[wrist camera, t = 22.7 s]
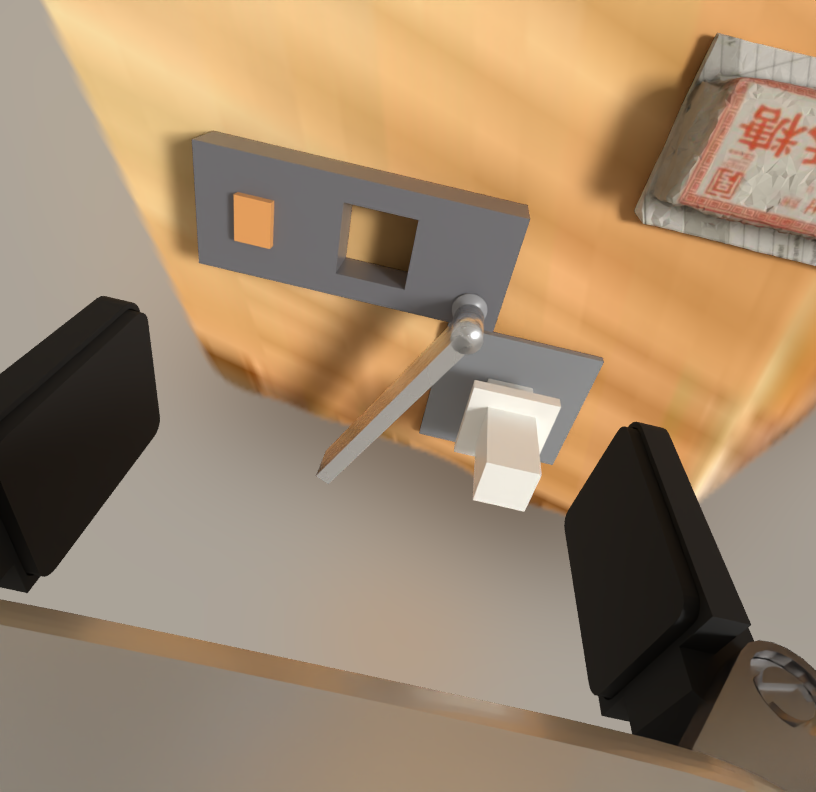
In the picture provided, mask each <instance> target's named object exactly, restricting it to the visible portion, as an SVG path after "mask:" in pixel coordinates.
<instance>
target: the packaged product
mask: <svg viewBox="0 0 816 792" xmlns="http://www.w3.org/2000/svg"><path fill="white" fill-rule="evenodd" d="M634 212H635V214H636V215H637V217H638V218H639V219H640V220H641V222H642V223H643V224H648V225H653V226H657V227H661V228H665V229H669V230H673V231H677V232H681V233H686V234H690V235H694V236H698V237H702V238H706V239H710V240H714V241H718V242H723V243H725V244H731V245H734V246H738V247H742V248H745V249H749V250H752V251H756V252H760V253H764V254H769V255H774V256H777V257H781V258H785V259H790V260H793V261H798V262H802V263H806V264H809V265H814V266H816V57H812V56H808V55H804V54H800V53H795V52H791V51H787V50H783V49H779V48H774V47H770V46H766V45H762V44H757V43H752V42H748V41H745V40H742V39H739V38H735V37H731V36H728V35H724V34H720V33H717V34H716V36H715V38H714V40H713V42H712V44H711V46H710V48H709V50H708V52H707V54H706V56H705V58H704V60H703V62H702V64H701V66H700V68H699V70H698V73H697V75H696V77H695V79H694V81H693V83H692V85H691V87H690V89H689V91H688V93H687V95H686V97H685V99H684V102H683V104H682V106H681V108H680V110H679V113H678V115H677V117H676V119H675V122H674V124H673V126H672V128H671V131H670V133H669V136H668V138H667V141H666V143H665V146H664V148H663V150H662V152H661V154H660V156H659V158H658V160H657V162H656V164H655V166H654V168H653V170H652V173H651V175H650V177H649V179H648V181H647V184H646V186H645V188H644V190H643V192H642V194H641V197H640V199H639V201H638V203H637V205H636V208H635V210H634Z"/></svg>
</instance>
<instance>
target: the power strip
mask: <svg viewBox="0 0 816 792" xmlns="http://www.w3.org/2000/svg"><path fill="white" fill-rule="evenodd" d="M192 149H193V167H194V184H195V201H196V219H197V236H198V253H199V263H201V264H206V265H210V266H214V267H218V268H222V269H227V270H231V271H235V272H239V273H244V274H248V275H252V276H256V277H260V278H265V279H269V280H273V281H277V282H282V283H286V284H290V285H294V286H298V287H303V288H307V289H311V290H315V291H320V292H324V293H328V294H332V295H336V296H341V297H345V298H349V299H353V300H358V301H362V302H366V303H370V304H374V305H379V306H383V307H387V308H391V309H396V310H400V311H404V312H408V313H412V314H417V315H421V316H425V317H429V318H434V319H438V320H442V321H446V322H450V323H452V322H453V318H454V313H455V311H456V310H457V309H458V308H459V307H460V306H463V305H466V304H471V305H475V306H477V307H479V308H480V309H481V310H482V312H483V315H484V331H488V332H493V330H494V327H495V324H496V321H497V318H498V315H499V312H500V309H501V306H502V303H503V300H504V297H505V294H506V291H507V288H508V285H509V282H510V279H511V276H512V273H513V270H514V267H515V264H516V261H517V257H518V254H519V251H520V248H521V245H522V242H523V239H524V236H525V233H526V230H527V227H528V224H529V221H530V216H529V210H528V205H524V204H520V203H516V202H512V201H508V200H503V199H499V198H495V197H491V196H487V195H482V194H478V193H474V192H470V191H465V190H461V189H457V188H453V187H449V186H444V185H440V184H436V183H432V182H427V181H423V180H419V179H415V178H411V177H406V176H402V175H398V174H394V173H389V172H385V171H381V170H377V169H373V168H368V167H364V166H360V165H356V164H351V163H347V162H343V161H339V160H335V159H330V158H326V157H322V156H318V155H313V154H309V153H305V152H301V151H297V150H292V149H288V148H284V147H280V146H275V145H271V144H267V143H263V142H259V141H254V140H250V139H246V138H242V137H238V136H233V135H229V134H225V133H221V132H216V131H212V132H209V133H207V134H204V135H202V136H199V137H196V138H194V139H192ZM352 205H357V206H361V207H365V208H369V209H374V210H378V211H382V212H386V213H390V214H395V215H399V216H403V217H407V218H412V219H416V220H419V221H418V226H417V231H416V236H415V241H414V246H413V251H412V256H411V261H410V266H409V271H408V272H405V271H401V270H397V269H393V268H388V267H384V266H380V265H376V264H372V263H367V262H363V261H359V260H355V259H350V258H346V253H347V245H348V237H349V229H350V220H351V212H352Z"/></svg>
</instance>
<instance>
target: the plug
mask: <svg viewBox="0 0 816 792" xmlns="http://www.w3.org/2000/svg"><path fill="white" fill-rule="evenodd" d="M560 408H561V404H560V399H557V398H553V397H549V396H544V395H540V394H535V393H533V388H529V387H525V386H520V385H516V384H512V383H507V382H503V381H498V380H494V379H488V382H482V381H478V380H474V383H473V386H472V390H471V393H470V396H469V399H468V403H467V406H466V409H465V412H464V415H463V419H462V422H461V425H460V428H459V431H458V435H457V438H456V441H455V446H454V452H458V453H462V454H466V455H471V456H475V466H474V487H473V500H477V501H480V502H485V503H489V504H493V505H498V506H502V507H507V508H511V509H515V510H520V511H525V509H526V507H527V505H528V503H529V501H530V498H531V496H532V494H533V492H534V490H535V488H536V486H537V484H538V481H539V479H540V477H541V475H542V474H541V464H540V453H541V451H542V448H543V446H544V444H545V442H546V439H547V437H548V435H549V433H550V431H551V428H552V426H553V424H554V422H555V420H556V417H557V415H558V413H559V411H560Z"/></svg>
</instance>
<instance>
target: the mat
mask: <svg viewBox="0 0 816 792" xmlns="http://www.w3.org/2000/svg"><path fill="white" fill-rule="evenodd" d="M450 324H451V323H450V322H449V323H448V326H449V325H450ZM603 363H604V361H603V358H602V357H597V356H593V355H589V354H585V353H581V352H576V351H572V350H568V349H564V348H559V347H555V346H551V345H547V344H543V343H538V342H534V341H530V340H526V339H521V338H517V337H513V336H509V335H505V334H500V333H496V332H488V331H484V330H483V344H482V346H481V348H480V349H479V350H478V351H477V352H475V353H473V354H468V355H466V354H465V355H464V356H463V357H462V358H461V359H460V360H459V361H458V362H457V363H456V364H455V365H454V366H453V367H452V368H450V369H449V370H448V371H447V372H446V373H445V374H444V375H443V376H442V377H441V378H440V379H439V380H438V381H437V382H436V383H435V384H434V385H432V386H431V390H430V394H429V398H428V401H427V405H426V409H425V413H424V416H423V420H422V424H421V427H420V432H419V433H420V434H424V435H428V436H432V437H437V438H441V439H445V440H449V441H453V442H455V441H456V438H457V435H458V431H459V428H460V425H461V422H462V419H463V415H464V412H465V409H466V406H467V403H468V399H469V396H470V393H471V390H472V386H473V383H474V380H478V381H482V382H488V379H494V380H498V381H503V382H507V383H512V384H516V385H520V386H525V387H529V388H533V393H535V394H540V395H544V396H549V397H553V398H557V399H560V404H561V408H560V411H559V413H558V415H557V417H556V420H555V422H554V424H553V426H552V428H551V431H550V433H549V435H548V437H547V439H546V442H545V444H544V446H543V448H542V451H541V453H540V462H542V463H546V464H551V465H553V463H554V461H555V459H556V457H557V455H558V453H559V451H560V449H561V447H562V445H563V443H564V441H565V439H566V437H567V435H568V433H569V431H570V429H571V427H572V425H573V423H574V421H575V419H576V417H577V415H578V413H579V411H580V409H581V407H582V405H583V403H584V401H585V399H586V397H587V395H588V393H589V391H590V389H591V387H592V385H593V383H594V381H595V379H596V377H597V375H598V373H599V371H600V369H601V367H602V365H603Z"/></svg>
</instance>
